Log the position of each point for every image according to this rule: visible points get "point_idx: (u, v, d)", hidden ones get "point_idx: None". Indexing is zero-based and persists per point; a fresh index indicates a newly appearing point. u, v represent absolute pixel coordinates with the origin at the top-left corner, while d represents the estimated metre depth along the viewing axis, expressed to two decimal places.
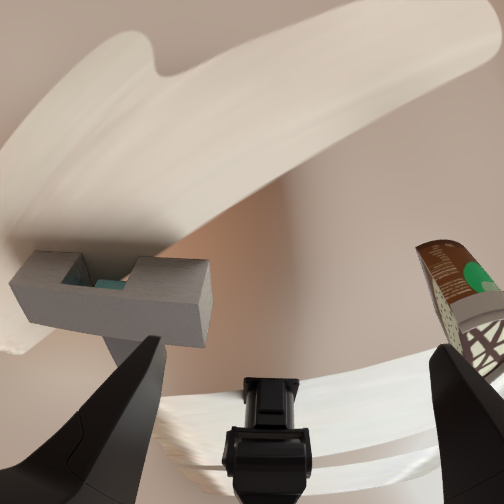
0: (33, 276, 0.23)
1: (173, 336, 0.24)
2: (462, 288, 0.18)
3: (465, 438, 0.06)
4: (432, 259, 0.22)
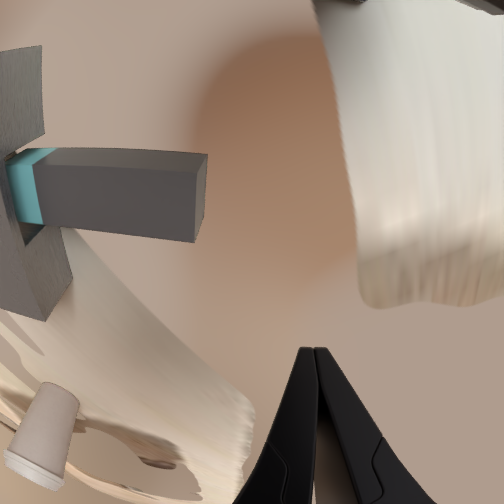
0: None
1: None
2: None
3: (325, 460, 0.06)
4: None
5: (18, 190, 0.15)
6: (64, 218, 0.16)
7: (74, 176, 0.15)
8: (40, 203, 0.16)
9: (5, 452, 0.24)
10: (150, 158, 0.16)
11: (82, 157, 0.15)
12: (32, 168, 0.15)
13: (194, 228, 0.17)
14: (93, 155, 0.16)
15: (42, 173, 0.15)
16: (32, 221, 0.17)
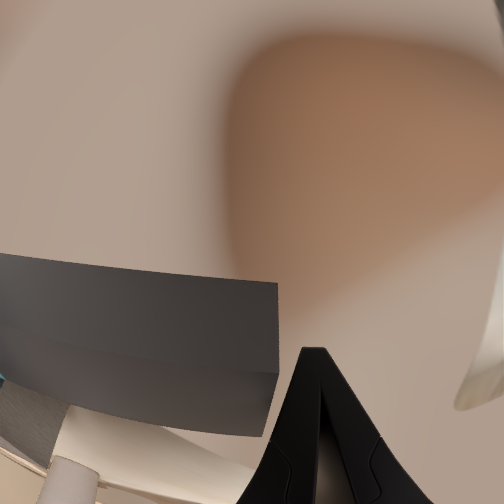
0: None
1: None
2: None
3: (323, 460, 0.06)
4: None
5: None
6: (33, 384, 0.08)
7: (24, 344, 0.07)
8: None
9: None
10: (164, 311, 0.08)
11: (32, 297, 0.08)
12: None
13: (263, 425, 0.08)
14: (51, 292, 0.08)
15: None
16: None
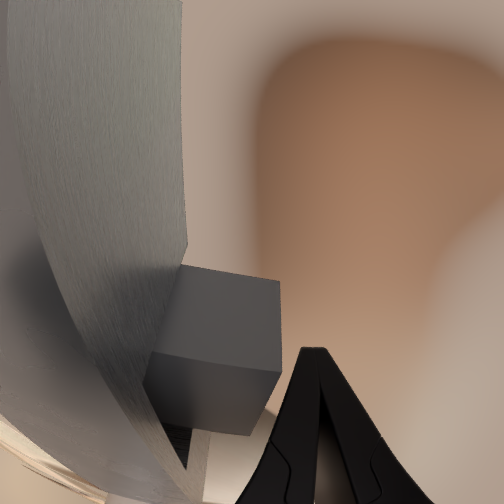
0: None
1: None
2: None
3: (324, 460, 0.06)
4: None
5: None
6: None
7: None
8: None
9: None
10: None
11: None
12: None
13: (253, 424, 0.08)
14: None
15: None
16: None
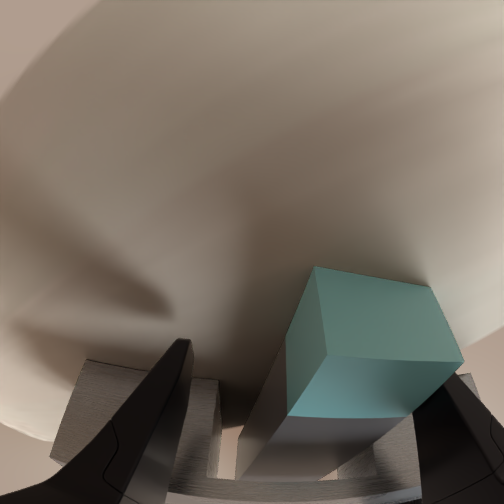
0: None
1: (416, 497, 0.10)
2: None
3: (442, 444, 0.06)
4: None
5: (387, 392, 0.07)
6: (288, 439, 0.09)
7: (348, 451, 0.10)
8: (333, 414, 0.08)
9: None
10: None
11: None
12: (400, 417, 0.08)
13: None
14: None
15: (381, 427, 0.09)
16: (301, 400, 0.07)
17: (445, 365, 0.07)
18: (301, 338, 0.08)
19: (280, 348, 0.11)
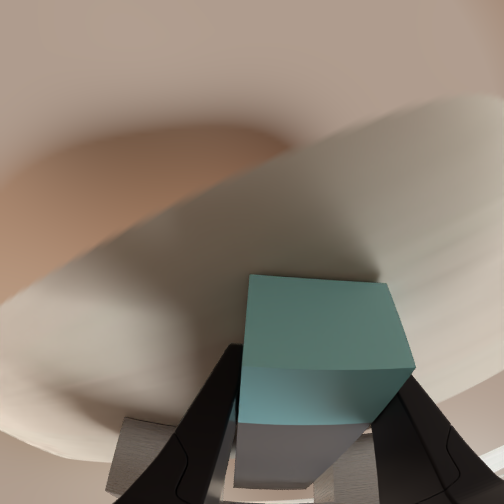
0: None
1: None
2: None
3: (396, 453, 0.06)
4: None
5: (332, 400, 0.07)
6: (254, 444, 0.09)
7: (326, 455, 0.10)
8: (287, 420, 0.08)
9: None
10: None
11: None
12: (364, 422, 0.08)
13: (249, 487, 0.14)
14: None
15: (348, 433, 0.09)
16: (243, 409, 0.08)
17: (392, 373, 0.06)
18: None
19: None
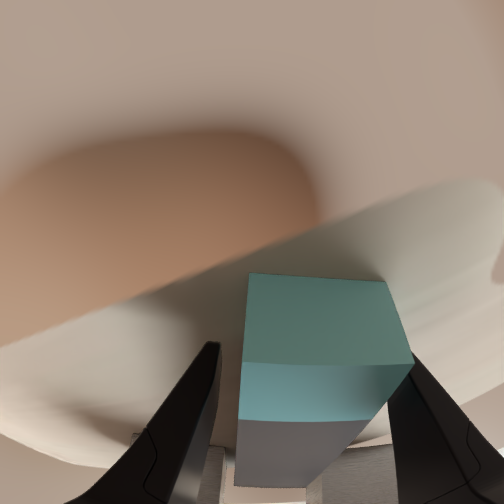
0: None
1: None
2: None
3: (417, 449, 0.06)
4: None
5: (331, 396, 0.07)
6: (254, 442, 0.09)
7: (326, 453, 0.10)
8: (286, 417, 0.08)
9: None
10: None
11: None
12: (364, 419, 0.08)
13: (249, 485, 0.14)
14: None
15: (347, 430, 0.09)
16: (243, 405, 0.08)
17: (391, 368, 0.06)
18: None
19: None
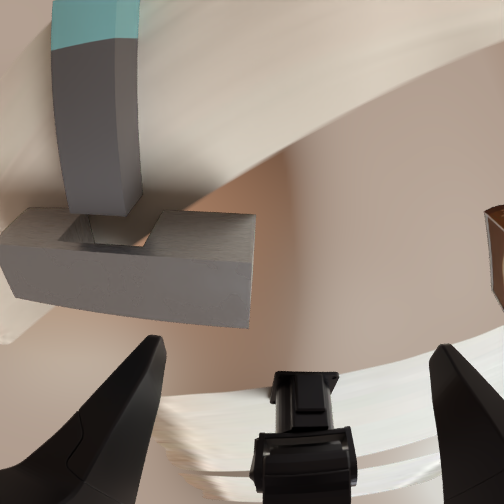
0: (23, 234, 0.17)
1: (209, 312, 0.18)
2: None
3: (465, 438, 0.06)
4: None
5: (86, 14, 0.11)
6: (60, 81, 0.13)
7: (104, 97, 0.13)
8: (72, 45, 0.12)
9: None
10: (130, 160, 0.17)
11: (125, 91, 0.14)
12: (110, 38, 0.11)
13: (81, 213, 0.17)
14: (128, 99, 0.15)
15: (105, 53, 0.12)
16: (52, 34, 0.11)
17: None
18: None
19: None
